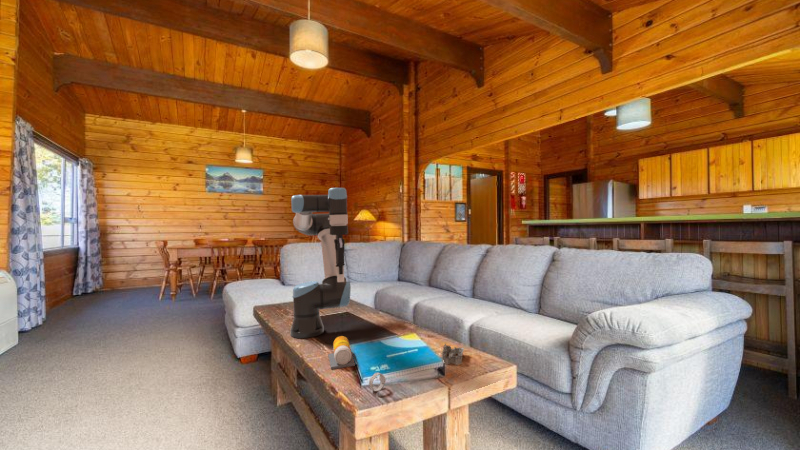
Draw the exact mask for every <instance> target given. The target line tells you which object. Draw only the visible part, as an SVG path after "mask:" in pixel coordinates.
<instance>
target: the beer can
mask: <svg viewBox="0 0 800 450" xmlns="http://www.w3.org/2000/svg"><path fill="white" fill-rule="evenodd" d="M332 345H333V353H334V358H335V361H336V362H337V363H338V364H341V365H344V364H346V363H348V362H349V361H350V359H351V351H352V350H351V345H350V341H349V339H348V337H346V336H343V335H340V336H337V337H336V338H335V339H334V341H333V343H332Z"/></svg>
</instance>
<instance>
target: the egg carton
mask: <svg viewBox="0 0 800 450" xmlns="http://www.w3.org/2000/svg"><path fill="white" fill-rule="evenodd" d="M443 345H444V346H443V348H442V352H441V359H442V361H443V360H444V362H445V363H444V364H445V365H450V364H454V365H456V366H458V365H462V364H463V361H462V360H463V354H464V347H456V346H454V348H452V347H451V345H447V344H446V343H444V344H443Z"/></svg>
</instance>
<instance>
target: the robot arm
mask: <svg viewBox="0 0 800 450" xmlns="http://www.w3.org/2000/svg"><path fill="white" fill-rule="evenodd" d="M347 194H348V193H347V189H346V188H345V187H331V188H329V189H328V193H327V194H295V195H292V196H291V200H290V203H291V212H292V213H295V216H294V217H293V220H292V224H293V227H294V229H295V230H296V231H298V233H300V234H303V235H304V236H305V235H306V236H317V239H318V240H319V241H320V243H321V254H322V262H323V272H324V278H323V280H322V282H321V283H319V281H318V280H317V281H316V280H315V281H314V280H312V281H307V282H302V283H299V284H296V285H295V286H294V287H293V288H292V301H293V302H292V303H293V304H292V305H293V319H292V323H291V327H290V330H289V331H290V332H289V333H290V336H291V337H292V338H295V339H307V338H313V337H318V336H320V335H322V334H324V332H325V327H324V323H323V320H322V318H321V314H320V310H327V309H337V308H344V307H345V308H346V307H348V305H349V304H350V301H351V282H350V281H347V278H346V277H345V266H346V265H345V243H346V242H345V239H344V237H343V236H344V235H348V234H349V226H348V224H349V220H348V219H349V216H348V195H347Z"/></svg>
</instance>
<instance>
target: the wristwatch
mask: <svg viewBox="0 0 800 450" xmlns="http://www.w3.org/2000/svg"><path fill="white" fill-rule="evenodd" d="M376 377H378V379H379V381H380V384H379V386H378V387H376V388H374V384H373V382H374V380H375V379H376ZM386 382H387V381H386V377H385V376H384V375H383V374H382V373H380V372H375V373H374V374H373V375H371V377H370V378H369V383H368V385H369V388H370V390H371V391H373V392H380V391H381V390H382V389H383V388H384V385H385V384H386Z"/></svg>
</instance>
